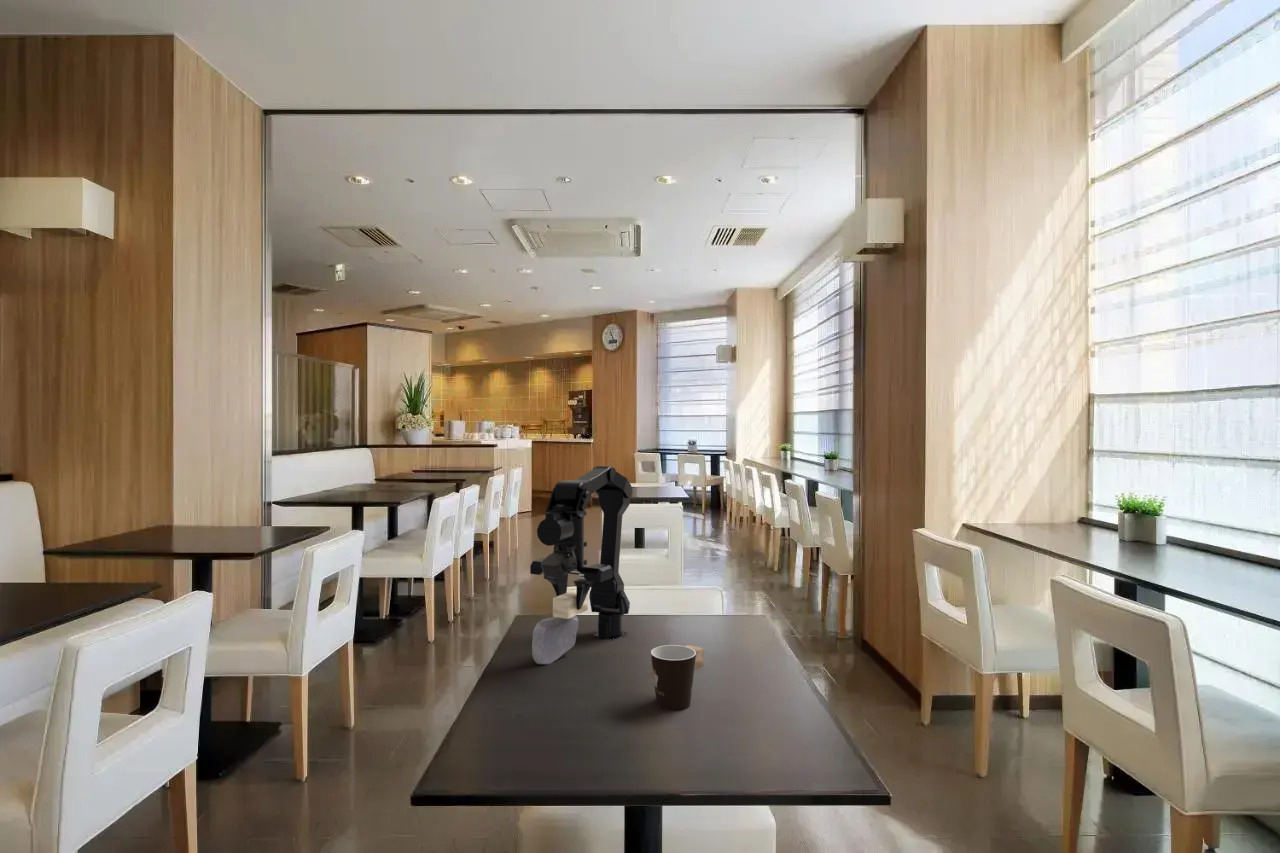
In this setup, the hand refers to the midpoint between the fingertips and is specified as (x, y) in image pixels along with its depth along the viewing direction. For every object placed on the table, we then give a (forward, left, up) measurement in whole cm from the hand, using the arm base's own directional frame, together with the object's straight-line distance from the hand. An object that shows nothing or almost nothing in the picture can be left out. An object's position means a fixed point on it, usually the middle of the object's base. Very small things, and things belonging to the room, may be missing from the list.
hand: (570, 608), depth 153 cm
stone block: (+1, -4, -13) cm, 13 cm away
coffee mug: (+7, +29, -13) cm, 33 cm away
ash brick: (0, 0, -1) cm, 1 cm away
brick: (-10, +23, -13) cm, 28 cm away
